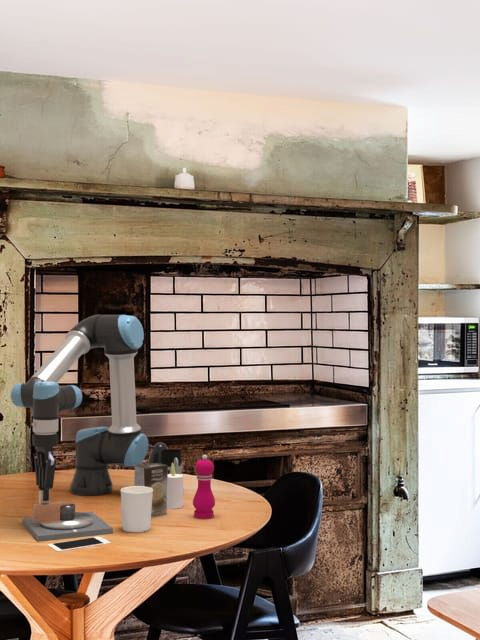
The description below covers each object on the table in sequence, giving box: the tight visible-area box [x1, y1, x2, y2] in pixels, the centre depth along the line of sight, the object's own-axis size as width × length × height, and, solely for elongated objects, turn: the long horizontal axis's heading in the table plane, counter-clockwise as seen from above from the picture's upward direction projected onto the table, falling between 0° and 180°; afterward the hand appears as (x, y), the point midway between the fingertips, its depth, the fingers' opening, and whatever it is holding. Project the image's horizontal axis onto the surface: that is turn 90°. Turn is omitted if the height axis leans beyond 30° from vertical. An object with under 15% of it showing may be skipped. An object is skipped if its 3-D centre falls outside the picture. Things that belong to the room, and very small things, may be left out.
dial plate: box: [21, 511, 114, 542], centre depth 246 cm, size 22×22×2 cm
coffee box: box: [133, 463, 168, 518], centre depth 265 cm, size 9×6×16 cm
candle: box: [167, 463, 184, 510], centre depth 276 cm, size 6×6×15 cm
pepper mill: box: [192, 454, 216, 520], centre depth 263 cm, size 7×7×20 cm
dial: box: [32, 500, 94, 529], centre depth 246 cm, size 18×16×6 cm
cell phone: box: [47, 535, 111, 553], centre depth 230 cm, size 8×16×1 cm, turn 125°
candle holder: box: [119, 485, 153, 533], centre depth 247 cm, size 10×10×12 cm
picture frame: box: [160, 448, 183, 475], centre depth 296 cm, size 9×14×15 cm, turn 18°
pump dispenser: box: [147, 441, 169, 464], centre depth 316 cm, size 10×10×15 cm
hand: (44, 510), depth 247 cm, fingers closed
